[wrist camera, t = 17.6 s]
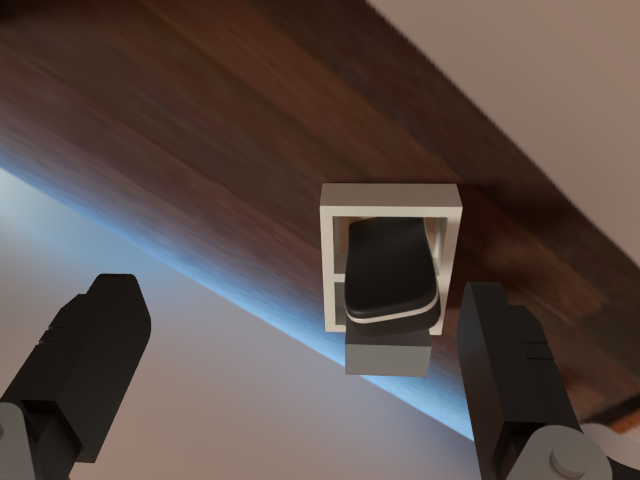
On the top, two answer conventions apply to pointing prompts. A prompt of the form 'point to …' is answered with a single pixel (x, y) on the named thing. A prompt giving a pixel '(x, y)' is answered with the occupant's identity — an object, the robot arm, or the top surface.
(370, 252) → the battery charger
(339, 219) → the dock
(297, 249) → the top surface
